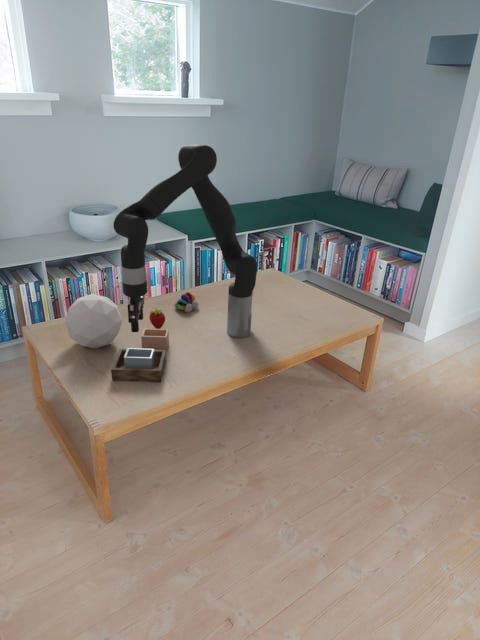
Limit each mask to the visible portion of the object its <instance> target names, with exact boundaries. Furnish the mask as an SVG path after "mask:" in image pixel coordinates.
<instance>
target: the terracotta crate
mask: <svg viewBox="0 0 480 640" xmlns="http://www.w3.org/2000/svg"><path fill="white" fill-rule="evenodd" d="M169 334H170V333H169V329H168V328H160V329H156V328H143V330H142V333H141V338H140V339H141V348H142V349H154V350H166V352H168V348H169V344H170V340H169V339H170V338H169V337H170V336H169Z"/></svg>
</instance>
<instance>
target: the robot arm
mask: <svg viewBox="0 0 480 640" xmlns="http://www.w3.org/2000/svg"><path fill="white" fill-rule="evenodd" d="M217 156H218V155H217V153H216V151H215V149H214V148H213V147H212V146H210V145H207V144H195V143H194V144H185V145H183V146H181V148H180V150H179V151H178V157H177V158H178V159H177V161H178V163H179V167H180V170H178V171H177V172H176V173H174V174H172V175H171V176H169V177H168V178H165V179H164V180H162V181H160V182H159V183H157V184H156V185H154V186H153V187H152V188H151V189H150V190H149V191H148V192H146V194H145V195H143V197H142V198H141V199H139V200H138V201H137V202H134V203H132V204H130V205H129V206H127V207H126V208H124V209H123V210H121V211H119V213H117V215H116V216H115V218H114V220H113V229H114V232H115V233H116V234H117V235H119V236H121V237H123V238H126V239H127V244H124V245H123V246H122V247H121V249H120V262H121V270H120V272H121V283H122V286H121V287H122V293H123V295H124V296H126V297H128V298H129V299H128V301H127V302H128V303H127V306H126V307H127V318H128V323H129V324H130V329H131V331H130V332H132V333H139V331H140V328H139V326H140V325H139V321H142V320H144V310H143V309H144V305H145V298H144V297H145V295H147V293H148V278H147V277H148V274H147V267H146V257H145V252H146V247H147V242H148V238H149V226H148V223H147V221H152V220H154V221H155V219H157V218H158V217H159V216H161V215H162V214H163V212H164V211H166V210H167V209H168V208H169V206H170V205H171V204H173V203H174V202H175V201H176V200H177V199H178V198H180V197H181V195H183V194H184V193H185V192H187V191H188V190H189V189H190V188H191V189H192V190H193V192H194V195H195V197H196V199H197V201H198V203H199V206H200V207H201V209H202V212H203V214H204V216H205V219H206V221H207V223H208V225H209V227H210V229H211V231H212V233H213V235H214V238H215V240H216V242H217V244H218V246H219V248H220V249H219V250H220V251H221V254H222V257H223V261H224V264H225V267H226V269H227V270H228V271H229V272H230V273H231V274H232V275H234V282H232V283H230V284H229V285H228V295H227V297H228V299H227V300H228V301H227V320H226V321H227V323H226V324H227V326H226V333H227V335H228V336H230V337H232V338H236V339H237V338H239V339H241V338H242V339H243V338H247V337H251V333H252V332H251V330H252V316H253V315H252V310H253V309H252V307H253V305H252V304H253V292H254V289H255V287H256V282H257V274H258V263H257V259H256V258H255V257H254V256H252V254H249V253H248V252H245V251H244V250H243V248H242V246H241V245H240V243H239V240H238V237H237V234H236V231H237V230H236V229H237V221H236V216H235V214H234V212H233V210H232V207H231V205H230V203H229V201H228V199H227V198H226V197H225V196H224V195H223V194H222V193H221V191H220V190H219V189H218V188H217V187H216V186H215V184H213V182H212V181H211V180H210V177H209V175H210V174H211V173H212V172H213V171H214V170H215V169H216V166H217V163H218V159H217V158H218V157H217Z"/></svg>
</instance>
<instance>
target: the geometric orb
mask: <svg viewBox="0 0 480 640" xmlns="http://www.w3.org/2000/svg"><path fill="white" fill-rule="evenodd" d="M64 323H65V326H66V329H67V333H68V336H69V338H70V339H72V341H74V342H76V344H78V345H79V346H81V347H86V348H91V349H99V348H102V347H106V346H108V345H111V343H113V341H114V340H115V339H116V337H117V336H118V335H119V332H120V329H121V327H122V323H123V318H122V316H121V313H120V310H119V307H118V305H117V304H116V303H114V302H113V301H112V300H111V299H110V298H109V297H106V296H104V295H103V296H102V295H99V294H94V293H90V294H88V295H85V296H82V297H78V298H77V299H76V300H75V301H73V303H72V304H71V306H70V307H68V309H67V313H66V316H65V322H64Z"/></svg>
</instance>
